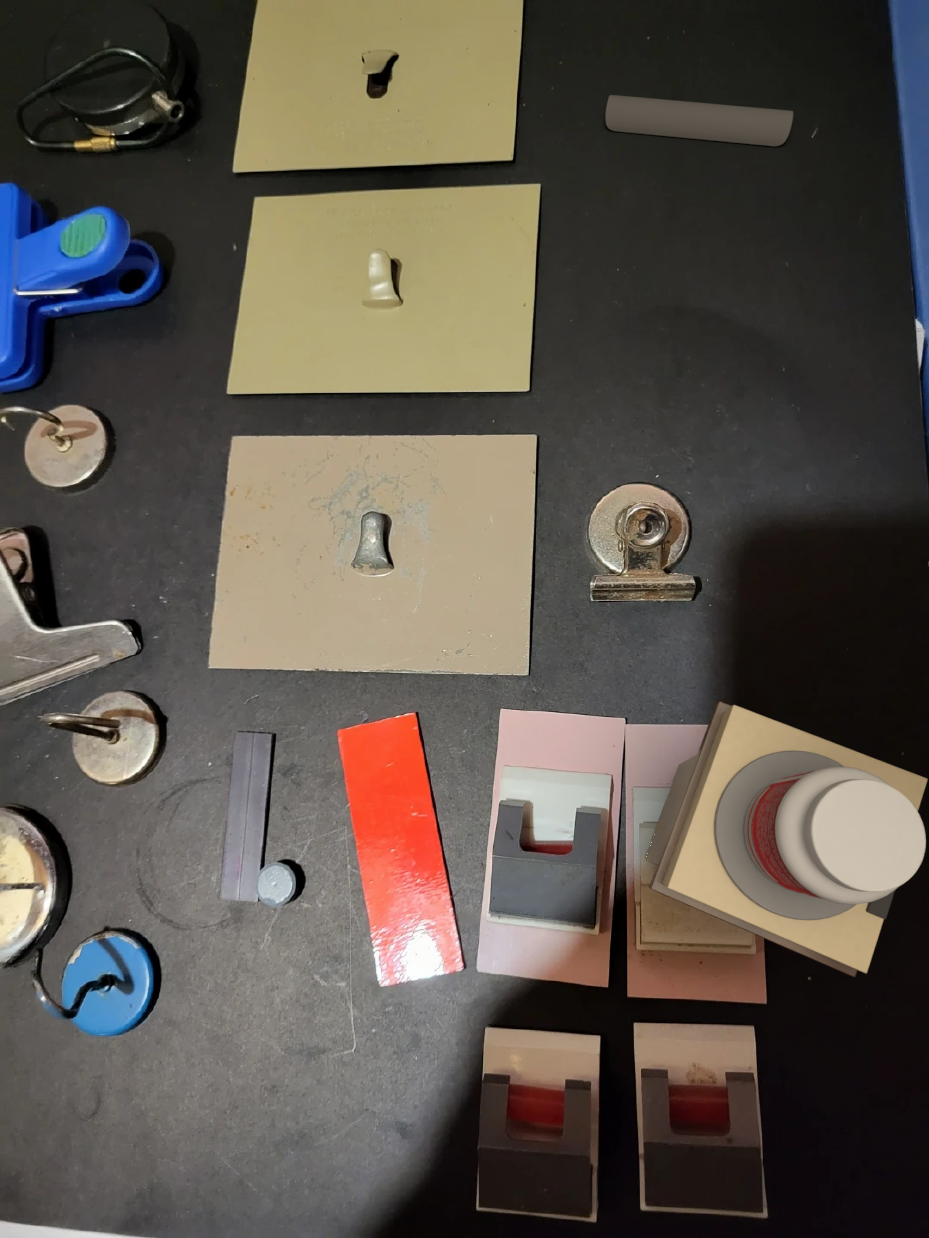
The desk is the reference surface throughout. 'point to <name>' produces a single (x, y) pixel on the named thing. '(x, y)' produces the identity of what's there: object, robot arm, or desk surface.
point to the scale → (718, 854)
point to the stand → (671, 830)
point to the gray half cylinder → (698, 120)
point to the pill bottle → (835, 835)
